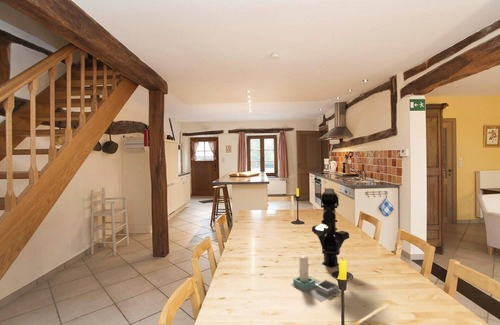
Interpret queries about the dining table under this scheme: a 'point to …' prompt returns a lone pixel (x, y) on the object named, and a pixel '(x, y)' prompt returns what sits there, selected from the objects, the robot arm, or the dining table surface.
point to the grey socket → (324, 291)
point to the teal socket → (302, 285)
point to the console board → (315, 293)
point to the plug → (303, 269)
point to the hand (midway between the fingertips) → (330, 249)
